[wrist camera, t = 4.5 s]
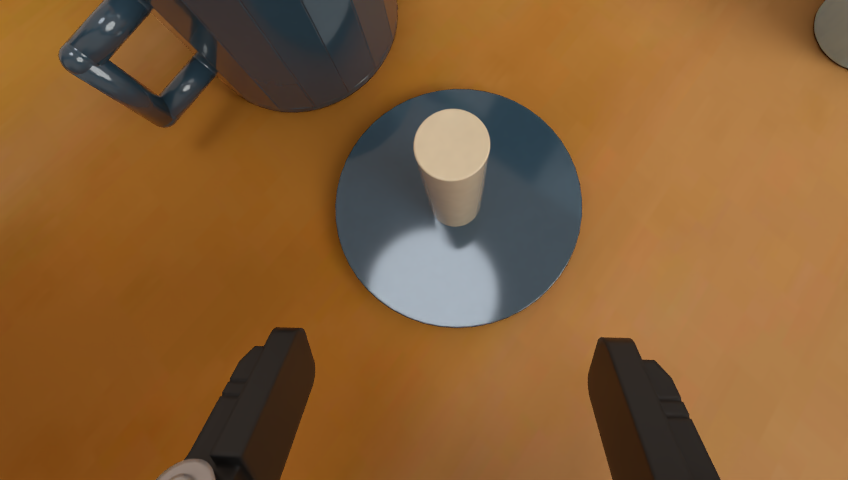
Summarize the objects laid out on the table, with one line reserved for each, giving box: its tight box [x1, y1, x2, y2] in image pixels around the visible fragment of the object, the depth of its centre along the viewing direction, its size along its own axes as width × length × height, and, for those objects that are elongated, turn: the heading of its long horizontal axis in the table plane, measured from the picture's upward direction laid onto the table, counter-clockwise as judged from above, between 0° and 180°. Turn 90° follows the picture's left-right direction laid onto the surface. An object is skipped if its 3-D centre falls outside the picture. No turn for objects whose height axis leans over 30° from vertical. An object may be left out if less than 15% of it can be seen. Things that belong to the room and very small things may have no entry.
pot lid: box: [335, 89, 582, 328], centre depth 19 cm, size 14×14×9 cm
